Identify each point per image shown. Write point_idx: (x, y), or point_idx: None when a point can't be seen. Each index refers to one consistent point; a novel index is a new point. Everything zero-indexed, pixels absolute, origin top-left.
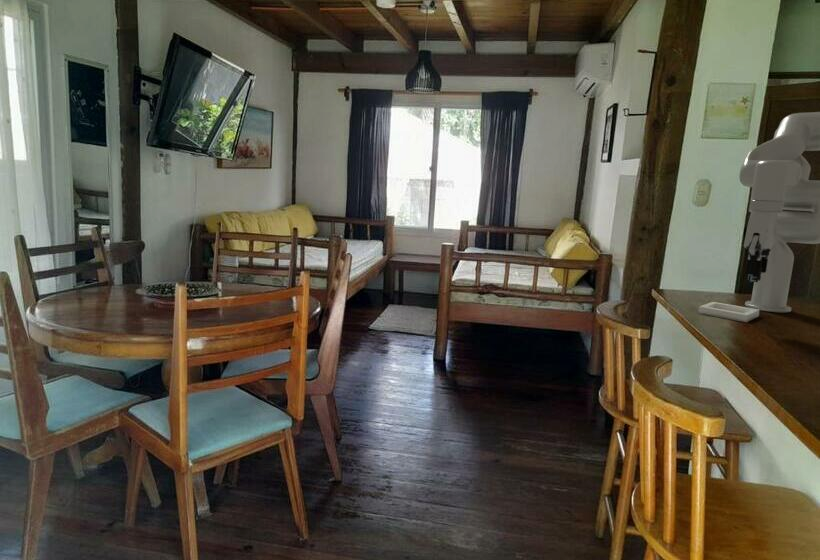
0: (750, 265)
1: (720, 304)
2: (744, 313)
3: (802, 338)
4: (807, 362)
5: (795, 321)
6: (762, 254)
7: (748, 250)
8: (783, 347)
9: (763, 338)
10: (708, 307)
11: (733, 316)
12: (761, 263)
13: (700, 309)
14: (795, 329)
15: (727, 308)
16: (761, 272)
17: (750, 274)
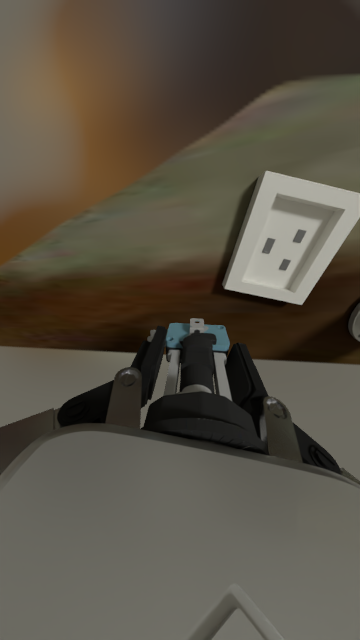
0: (136, 356)
1: (336, 223)
2: (240, 283)
3: None
4: (57, 345)
5: (281, 344)
6: None
7: (194, 412)
8: (98, 329)
9: (124, 310)
10: (266, 199)
11: (231, 263)
12: (232, 388)
13: (260, 178)
14: None
15: (319, 242)
16: (226, 362)
17: (197, 332)
